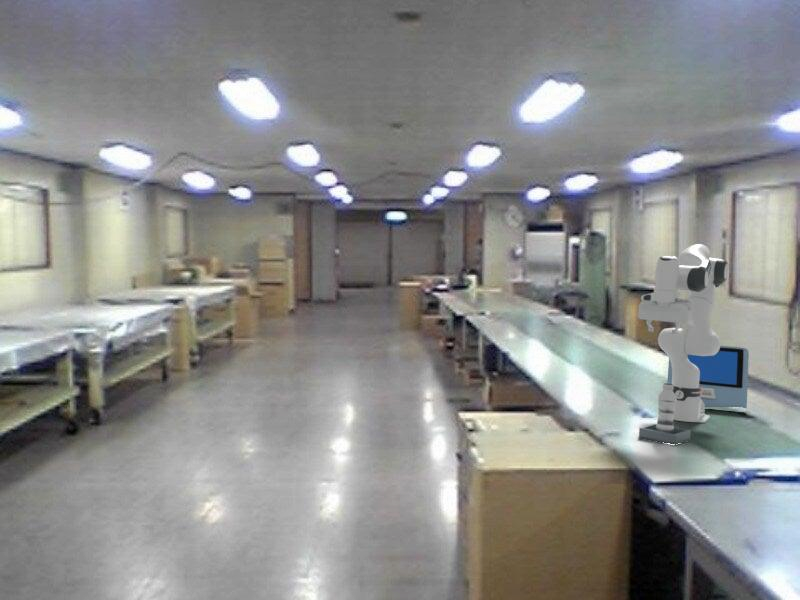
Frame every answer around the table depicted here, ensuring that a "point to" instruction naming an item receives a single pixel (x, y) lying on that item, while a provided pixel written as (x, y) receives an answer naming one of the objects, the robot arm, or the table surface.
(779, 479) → the table surface
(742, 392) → the touchscreen device
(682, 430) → the box
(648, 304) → the robot arm
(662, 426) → the plastic bottle
